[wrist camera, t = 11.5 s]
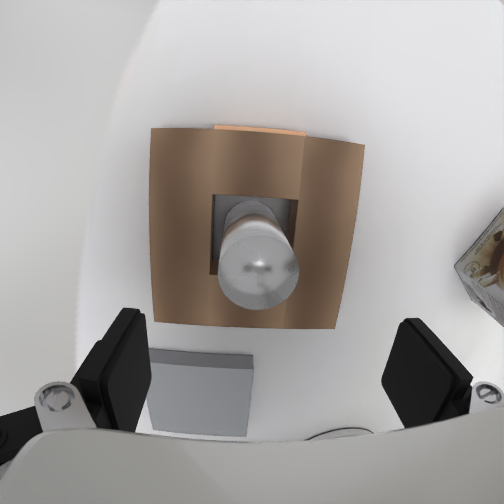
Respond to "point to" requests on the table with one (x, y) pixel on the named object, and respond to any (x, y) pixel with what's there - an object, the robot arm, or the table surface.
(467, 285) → the coffee box
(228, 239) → the peg
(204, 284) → the hole board
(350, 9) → the table surface
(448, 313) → the table surface
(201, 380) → the pad
